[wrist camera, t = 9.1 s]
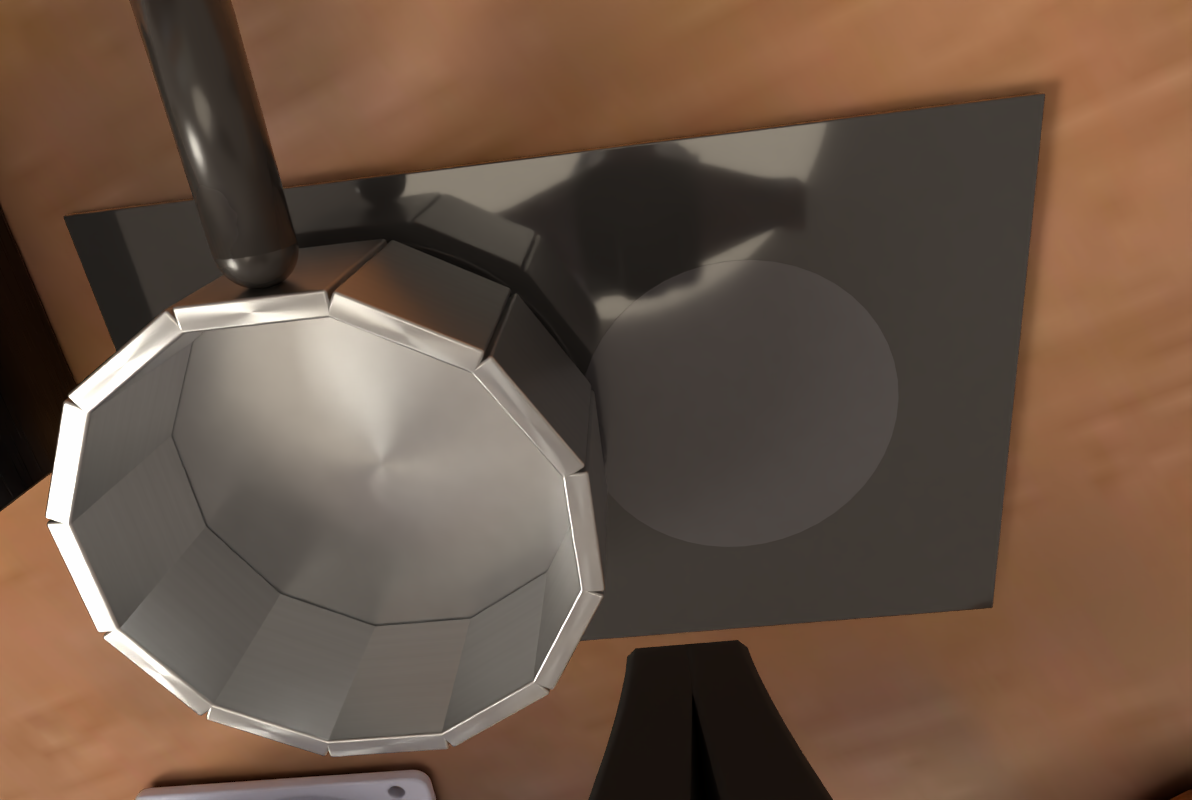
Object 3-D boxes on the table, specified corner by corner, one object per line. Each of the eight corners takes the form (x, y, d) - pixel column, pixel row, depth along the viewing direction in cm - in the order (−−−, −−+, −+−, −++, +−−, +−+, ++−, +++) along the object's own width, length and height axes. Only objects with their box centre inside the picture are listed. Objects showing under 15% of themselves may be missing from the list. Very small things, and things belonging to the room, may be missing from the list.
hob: (1038, 92, 16) (1046, 92, 16) (988, 601, 21) (993, 608, 21) (70, 213, 18) (62, 216, 17) (245, 661, 23) (241, 669, 23)
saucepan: (624, 598, 21) (626, 738, 17) (250, 629, 22) (162, 769, 18) (531, -115, 15) (495, -180, 10) (-1, -37, 15) (-238, -67, 11)
